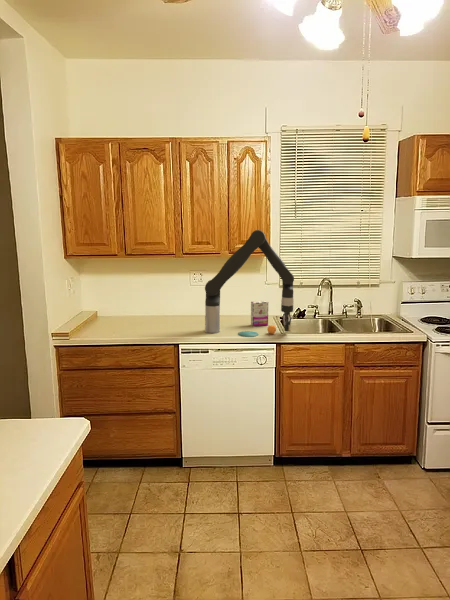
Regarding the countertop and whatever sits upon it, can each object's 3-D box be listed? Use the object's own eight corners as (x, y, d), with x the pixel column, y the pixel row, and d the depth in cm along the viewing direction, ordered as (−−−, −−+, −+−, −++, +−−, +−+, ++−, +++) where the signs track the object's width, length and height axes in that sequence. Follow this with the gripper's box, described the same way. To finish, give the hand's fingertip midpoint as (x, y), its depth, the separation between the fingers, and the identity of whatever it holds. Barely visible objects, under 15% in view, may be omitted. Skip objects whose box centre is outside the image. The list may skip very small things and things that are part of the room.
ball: (268, 334, 281) (268, 326, 280) (266, 332, 286) (266, 324, 285) (276, 334, 282) (277, 326, 281) (274, 332, 287) (275, 324, 286)
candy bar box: (265, 323, 309) (266, 300, 306) (268, 325, 304) (268, 302, 301) (250, 324, 306) (250, 301, 303) (252, 326, 301) (253, 302, 298)
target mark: (239, 337, 276) (239, 336, 275) (236, 331, 288) (236, 331, 288) (260, 336, 277) (260, 336, 277) (256, 331, 290) (256, 330, 290)
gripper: (279, 302, 287) (278, 328, 291) (283, 306, 275) (283, 333, 278) (290, 301, 288) (289, 328, 292) (295, 306, 275) (294, 333, 279)
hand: (286, 330), depth 285 cm, fingers closed
